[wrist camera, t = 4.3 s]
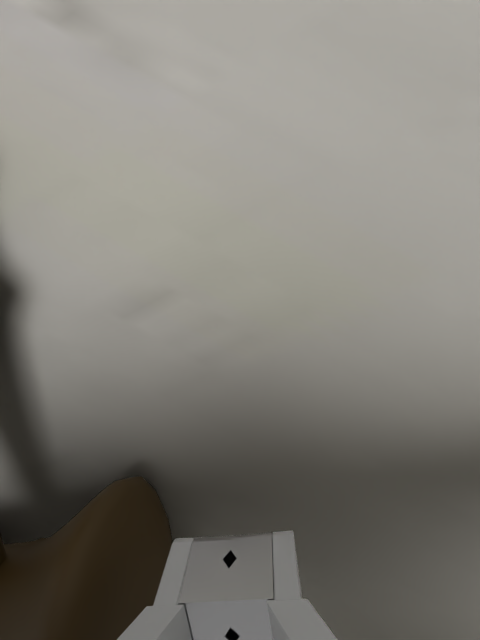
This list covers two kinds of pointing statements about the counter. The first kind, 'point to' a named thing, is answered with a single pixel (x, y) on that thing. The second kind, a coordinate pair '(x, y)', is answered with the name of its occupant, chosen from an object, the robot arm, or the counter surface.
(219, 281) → the counter surface
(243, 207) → the counter surface
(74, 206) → the counter surface
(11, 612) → the kendama
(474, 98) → the counter surface
